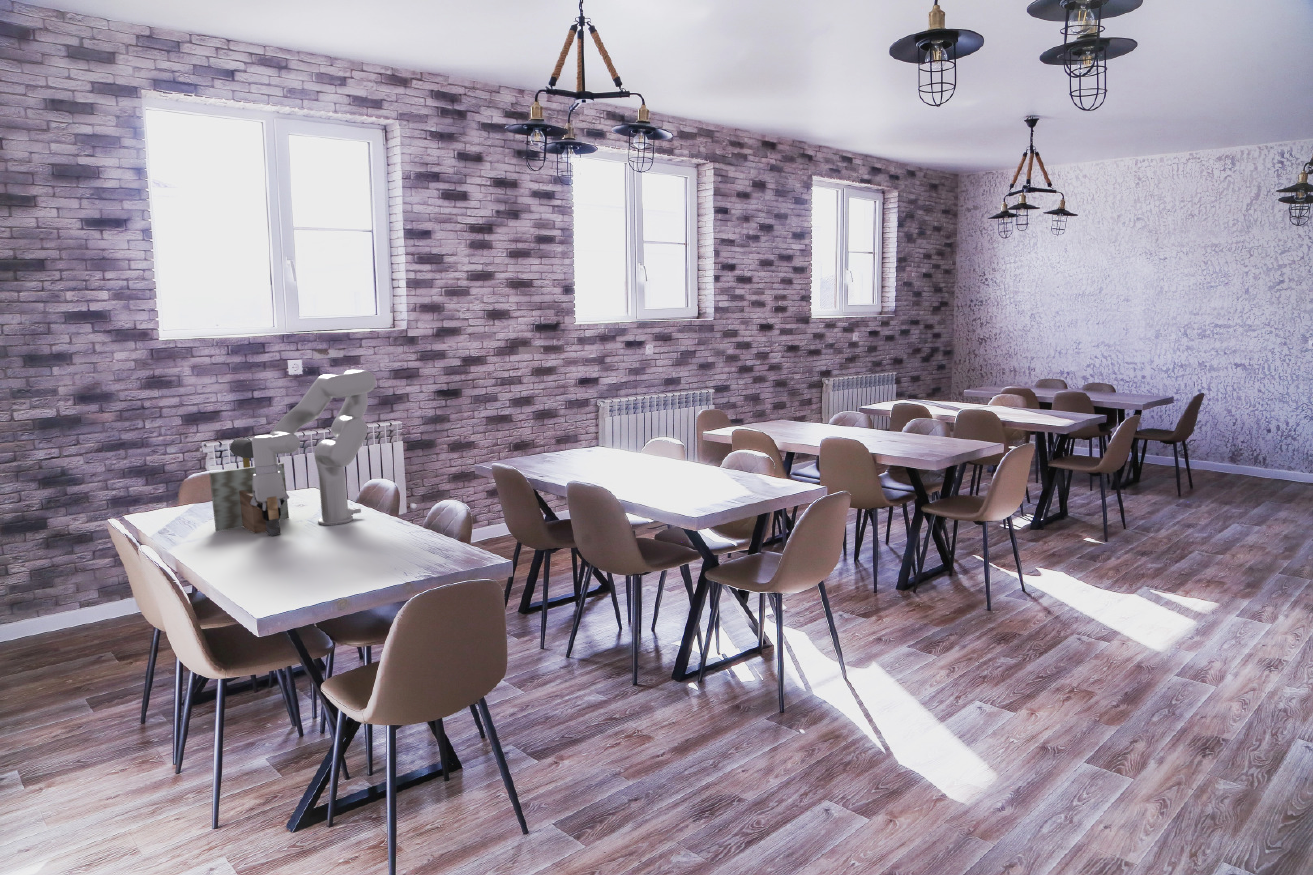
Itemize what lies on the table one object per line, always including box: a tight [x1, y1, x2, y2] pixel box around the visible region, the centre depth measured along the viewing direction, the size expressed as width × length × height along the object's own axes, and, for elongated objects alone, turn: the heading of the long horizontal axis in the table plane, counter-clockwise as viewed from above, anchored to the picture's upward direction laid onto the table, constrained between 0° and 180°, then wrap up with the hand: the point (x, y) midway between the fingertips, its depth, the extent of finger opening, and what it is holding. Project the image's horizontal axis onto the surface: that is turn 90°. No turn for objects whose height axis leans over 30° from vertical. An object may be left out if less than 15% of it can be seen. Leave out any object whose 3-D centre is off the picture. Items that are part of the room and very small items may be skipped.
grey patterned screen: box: [209, 462, 290, 534], centre depth 318 cm, size 26×16×22 cm, turn 132°
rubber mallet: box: [229, 438, 254, 468], centre depth 342 cm, size 12×8×30 cm, turn 50°
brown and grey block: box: [265, 497, 282, 537], centre depth 307 cm, size 3×5×14 cm, turn 42°
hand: (272, 518), depth 308 cm, fingers closed on brown and grey block, 3 cm apart
